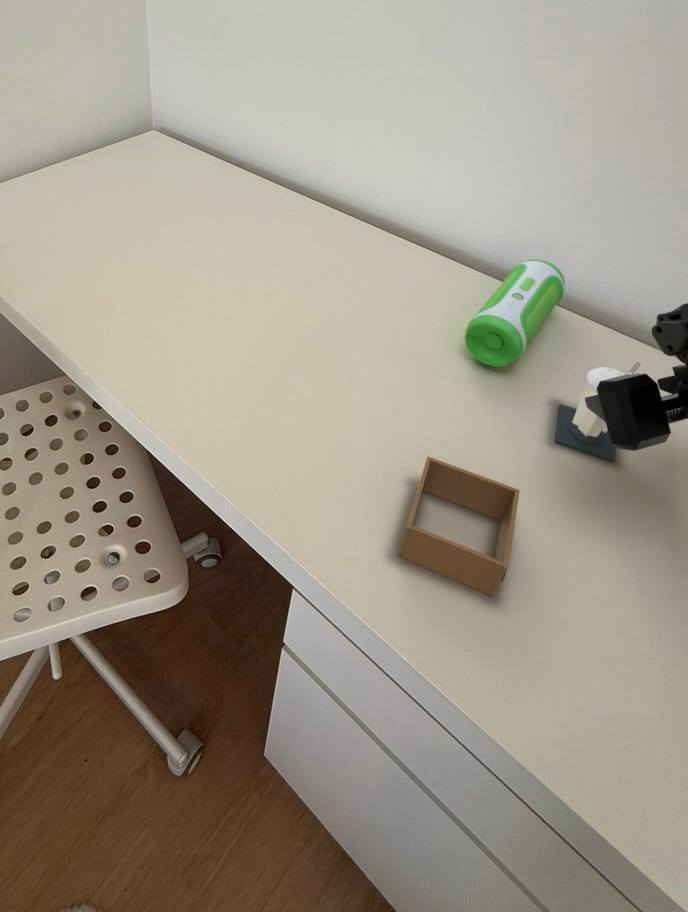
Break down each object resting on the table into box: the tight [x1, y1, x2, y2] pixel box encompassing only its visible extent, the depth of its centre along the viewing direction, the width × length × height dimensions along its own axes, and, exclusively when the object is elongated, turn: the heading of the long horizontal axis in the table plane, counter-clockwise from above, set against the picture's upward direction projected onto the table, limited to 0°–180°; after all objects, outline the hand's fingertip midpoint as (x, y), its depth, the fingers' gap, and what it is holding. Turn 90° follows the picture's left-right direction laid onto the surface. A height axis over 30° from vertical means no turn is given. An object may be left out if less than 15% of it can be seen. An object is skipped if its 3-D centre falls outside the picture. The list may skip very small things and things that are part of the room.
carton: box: [397, 456, 521, 597], centre depth 64 cm, size 9×9×5 cm
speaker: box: [464, 258, 566, 368], centre depth 87 cm, size 18×7×8 cm, turn 139°
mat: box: [554, 403, 616, 463], centre depth 76 cm, size 6×6×1 cm
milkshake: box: [569, 361, 642, 444], centre depth 73 cm, size 4×5×10 cm
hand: (623, 393), depth 70 cm, fingers open, 9 cm apart
